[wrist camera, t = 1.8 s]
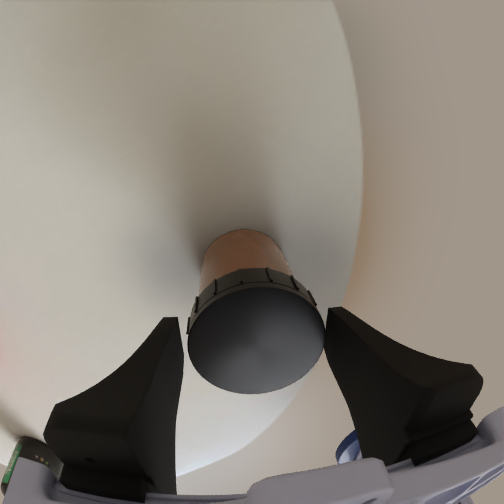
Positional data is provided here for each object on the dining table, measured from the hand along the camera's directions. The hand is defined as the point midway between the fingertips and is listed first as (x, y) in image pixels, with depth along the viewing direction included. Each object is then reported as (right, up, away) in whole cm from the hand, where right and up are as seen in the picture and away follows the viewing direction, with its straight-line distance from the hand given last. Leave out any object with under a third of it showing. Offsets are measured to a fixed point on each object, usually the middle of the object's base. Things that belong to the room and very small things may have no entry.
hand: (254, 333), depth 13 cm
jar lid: (0, 0, -1) cm, 1 cm away
